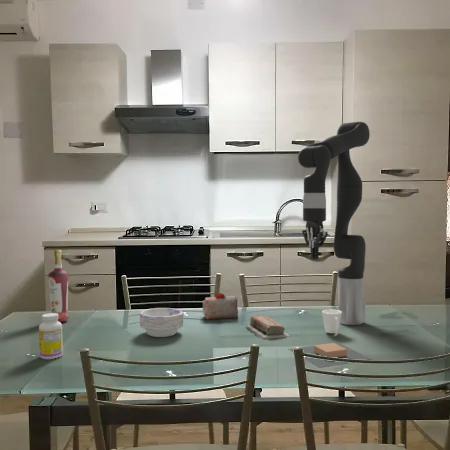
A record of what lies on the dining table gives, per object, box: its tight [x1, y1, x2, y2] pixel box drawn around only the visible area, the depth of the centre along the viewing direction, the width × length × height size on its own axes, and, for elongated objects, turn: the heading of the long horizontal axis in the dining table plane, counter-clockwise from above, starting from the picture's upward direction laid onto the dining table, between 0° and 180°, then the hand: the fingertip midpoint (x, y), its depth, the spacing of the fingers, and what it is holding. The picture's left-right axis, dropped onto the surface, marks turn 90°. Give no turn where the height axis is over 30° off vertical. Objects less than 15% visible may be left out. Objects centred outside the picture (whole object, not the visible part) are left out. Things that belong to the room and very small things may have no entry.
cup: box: [321, 308, 342, 337], centre depth 170 cm, size 7×10×8 cm
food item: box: [202, 292, 239, 321], centre depth 197 cm, size 14×8×10 cm, turn 99°
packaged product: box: [245, 315, 291, 340], centre depth 175 cm, size 18×5×10 cm
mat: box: [288, 342, 374, 369], centre depth 149 cm, size 18×18×1 cm
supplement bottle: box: [38, 312, 64, 360], centre depth 150 cm, size 7×7×13 cm
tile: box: [313, 342, 347, 357], centre depth 148 cm, size 7×2×7 cm
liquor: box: [48, 249, 70, 324], centre depth 192 cm, size 7×7×28 cm
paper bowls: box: [139, 307, 184, 338], centre depth 174 cm, size 15×15×8 cm
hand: (314, 258), depth 165 cm, fingers closed
